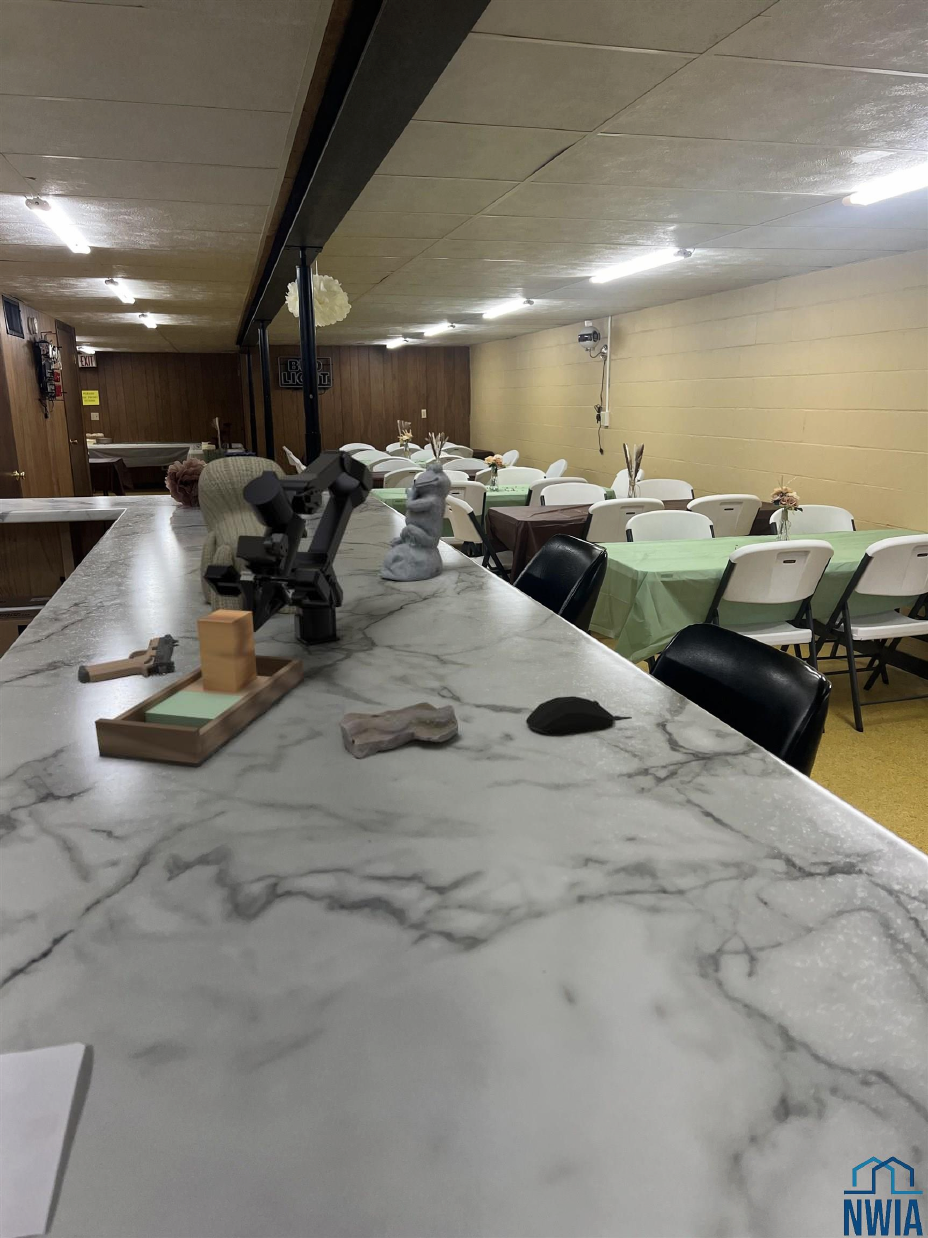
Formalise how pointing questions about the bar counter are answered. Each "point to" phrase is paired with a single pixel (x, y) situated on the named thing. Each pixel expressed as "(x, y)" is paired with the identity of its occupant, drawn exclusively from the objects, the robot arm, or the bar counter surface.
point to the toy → (229, 518)
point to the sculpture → (420, 529)
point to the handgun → (134, 663)
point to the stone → (397, 728)
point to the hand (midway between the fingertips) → (251, 631)
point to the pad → (190, 709)
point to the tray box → (190, 744)
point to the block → (227, 650)
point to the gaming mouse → (570, 716)
